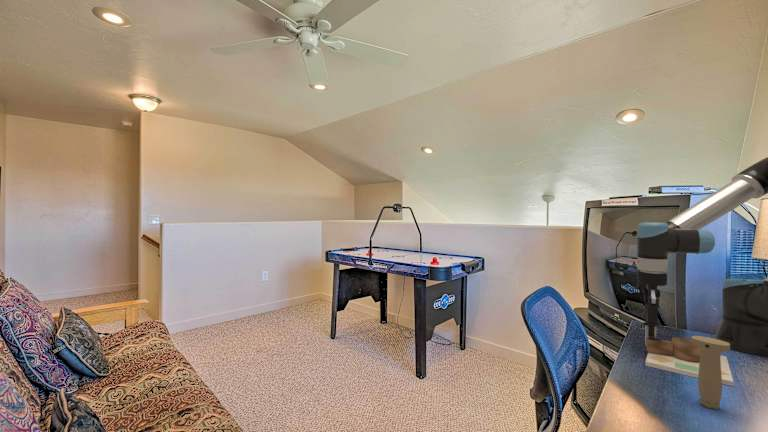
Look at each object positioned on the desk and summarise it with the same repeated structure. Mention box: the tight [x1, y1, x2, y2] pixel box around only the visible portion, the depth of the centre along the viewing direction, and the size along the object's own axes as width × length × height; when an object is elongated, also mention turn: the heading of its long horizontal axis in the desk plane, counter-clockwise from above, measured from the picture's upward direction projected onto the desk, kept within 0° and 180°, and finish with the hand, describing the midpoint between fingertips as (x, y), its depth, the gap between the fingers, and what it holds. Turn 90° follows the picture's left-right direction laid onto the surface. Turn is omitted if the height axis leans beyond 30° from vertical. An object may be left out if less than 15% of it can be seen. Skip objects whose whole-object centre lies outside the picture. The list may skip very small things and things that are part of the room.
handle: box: [691, 335, 731, 410], centre depth 79 cm, size 5×6×15 cm
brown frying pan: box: [646, 336, 700, 362], centre depth 104 cm, size 13×7×5 cm, turn 61°
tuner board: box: [644, 351, 734, 387], centre depth 102 cm, size 18×22×1 cm
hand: (650, 345), depth 109 cm, fingers closed
